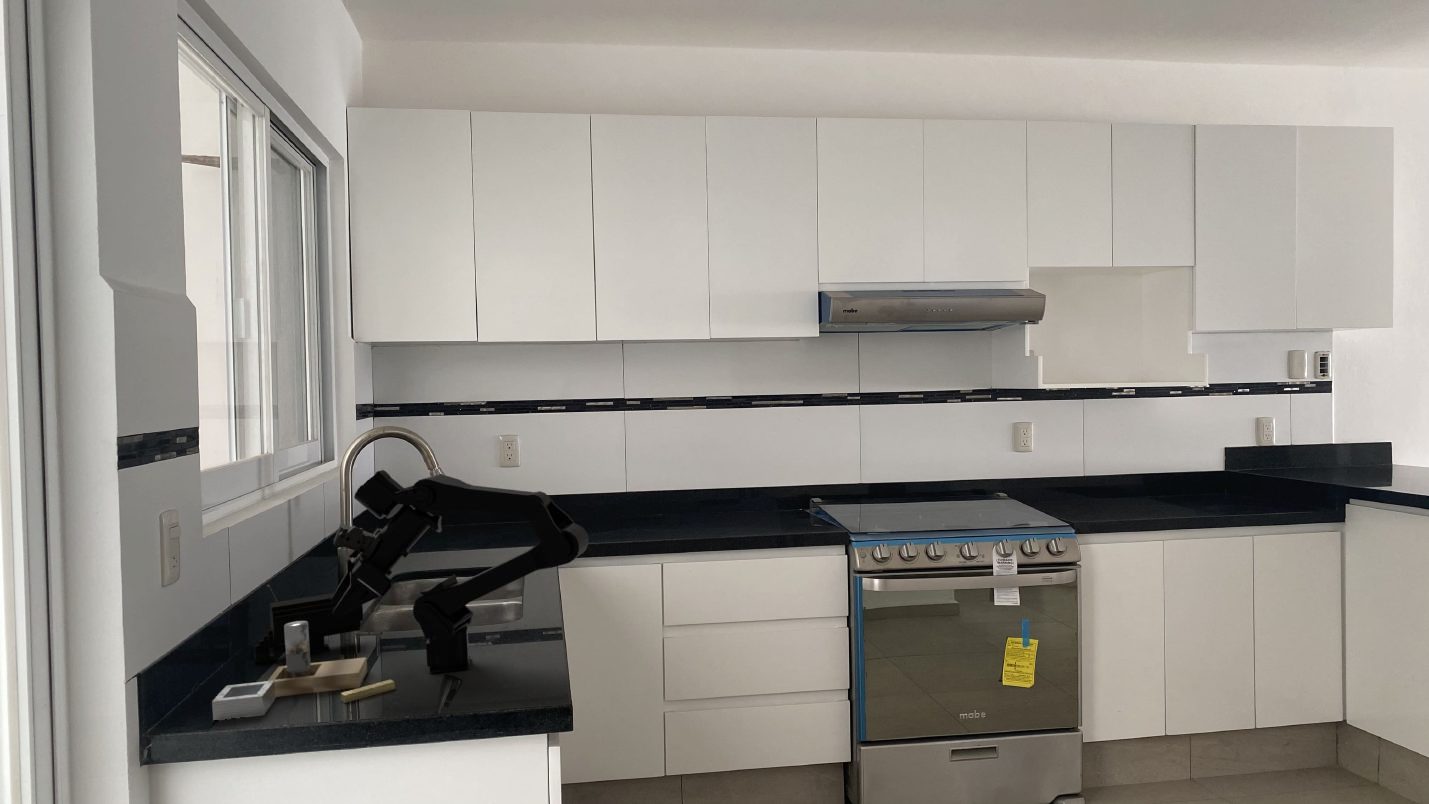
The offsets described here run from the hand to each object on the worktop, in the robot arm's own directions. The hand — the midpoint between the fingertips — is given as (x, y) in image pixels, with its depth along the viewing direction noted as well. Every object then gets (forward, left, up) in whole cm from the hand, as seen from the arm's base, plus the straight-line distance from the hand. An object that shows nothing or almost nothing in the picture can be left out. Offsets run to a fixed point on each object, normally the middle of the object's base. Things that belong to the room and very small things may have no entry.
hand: (333, 608), depth 151 cm
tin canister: (+6, +1, -12) cm, 13 cm away
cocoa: (+12, -25, -12) cm, 30 cm away
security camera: (+8, -18, -12) cm, 23 cm away
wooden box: (+3, +1, -12) cm, 13 cm away
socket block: (+12, +10, -12) cm, 20 cm away
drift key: (-6, +9, -12) cm, 17 cm away
